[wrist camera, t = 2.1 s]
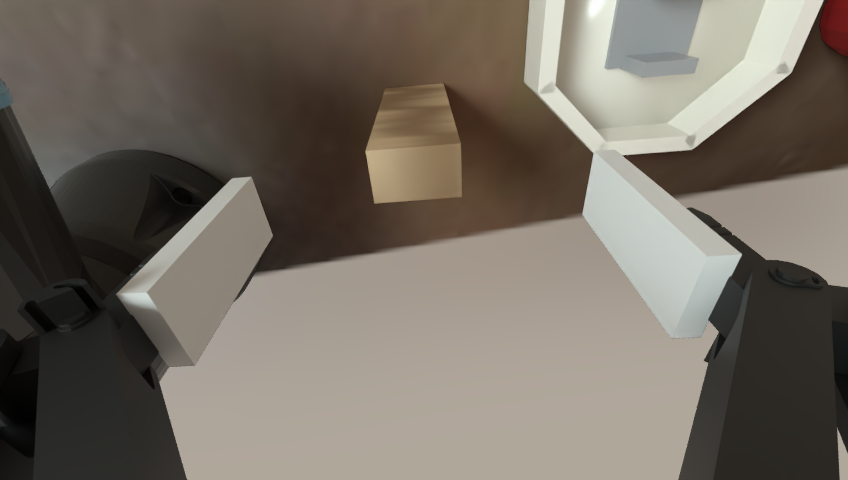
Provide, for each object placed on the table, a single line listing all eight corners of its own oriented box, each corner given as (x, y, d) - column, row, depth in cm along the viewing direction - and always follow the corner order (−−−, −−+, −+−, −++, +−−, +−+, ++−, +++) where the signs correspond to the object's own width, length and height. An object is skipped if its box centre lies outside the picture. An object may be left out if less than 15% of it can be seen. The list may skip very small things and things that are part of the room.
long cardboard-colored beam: (389, 124, 27) (374, 203, 17) (385, 88, 26) (365, 151, 16) (445, 120, 27) (462, 196, 17) (443, 83, 25) (460, 143, 15)
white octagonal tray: (519, 144, 28) (532, 163, 25) (538, -133, 19) (562, -157, 16) (723, 128, 27) (763, 146, 24) (832, -163, 19) (915, -193, 16)
